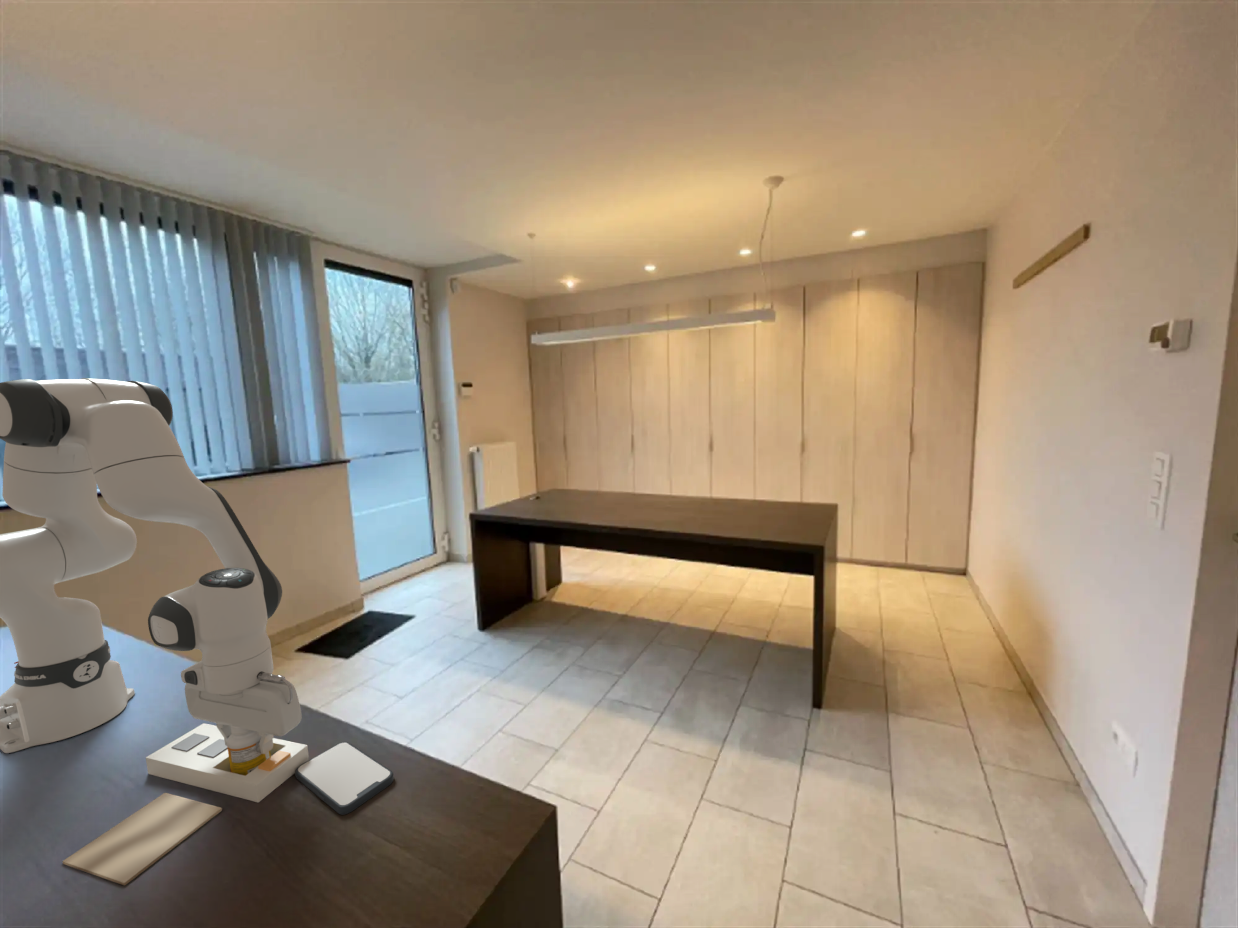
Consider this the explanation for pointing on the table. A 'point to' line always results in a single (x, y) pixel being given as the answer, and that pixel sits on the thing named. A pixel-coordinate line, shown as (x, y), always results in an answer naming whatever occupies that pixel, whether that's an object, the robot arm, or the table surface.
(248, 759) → the supplement bottle
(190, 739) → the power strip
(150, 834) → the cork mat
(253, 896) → the table surface
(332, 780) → the phone case
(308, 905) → the table surface
